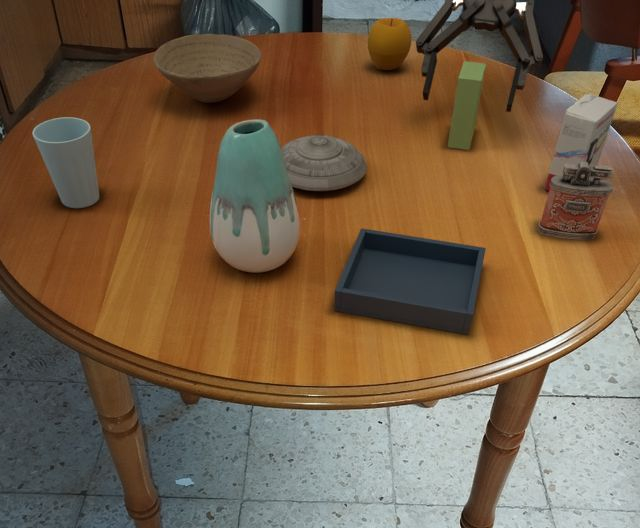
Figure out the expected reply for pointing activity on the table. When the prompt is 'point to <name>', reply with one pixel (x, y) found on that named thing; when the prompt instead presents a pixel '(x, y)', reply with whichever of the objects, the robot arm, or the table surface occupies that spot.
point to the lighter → (576, 201)
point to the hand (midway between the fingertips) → (466, 102)
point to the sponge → (466, 105)
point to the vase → (253, 200)
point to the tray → (411, 280)
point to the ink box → (582, 134)
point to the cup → (69, 159)
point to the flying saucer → (322, 163)
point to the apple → (389, 43)
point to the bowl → (208, 64)
